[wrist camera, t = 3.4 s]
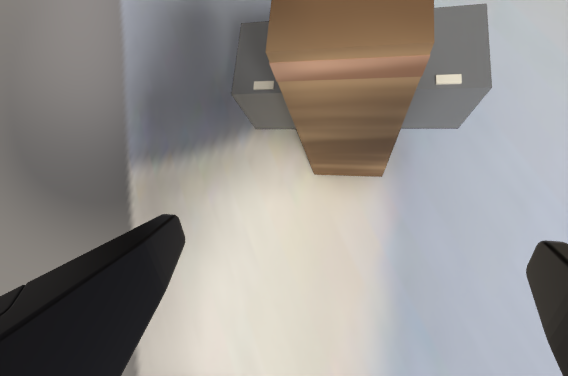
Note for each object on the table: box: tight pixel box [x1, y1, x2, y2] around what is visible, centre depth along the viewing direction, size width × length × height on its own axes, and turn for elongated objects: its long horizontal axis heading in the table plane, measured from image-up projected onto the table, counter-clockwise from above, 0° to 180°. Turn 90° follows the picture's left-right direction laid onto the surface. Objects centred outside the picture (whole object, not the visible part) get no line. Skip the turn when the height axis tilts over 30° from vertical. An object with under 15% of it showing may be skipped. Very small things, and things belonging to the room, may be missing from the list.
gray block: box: [231, 4, 492, 129], centre depth 20 cm, size 5×14×5 cm, turn 85°
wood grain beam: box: [266, 0, 434, 177], centre depth 15 cm, size 3×4×13 cm, turn 85°
